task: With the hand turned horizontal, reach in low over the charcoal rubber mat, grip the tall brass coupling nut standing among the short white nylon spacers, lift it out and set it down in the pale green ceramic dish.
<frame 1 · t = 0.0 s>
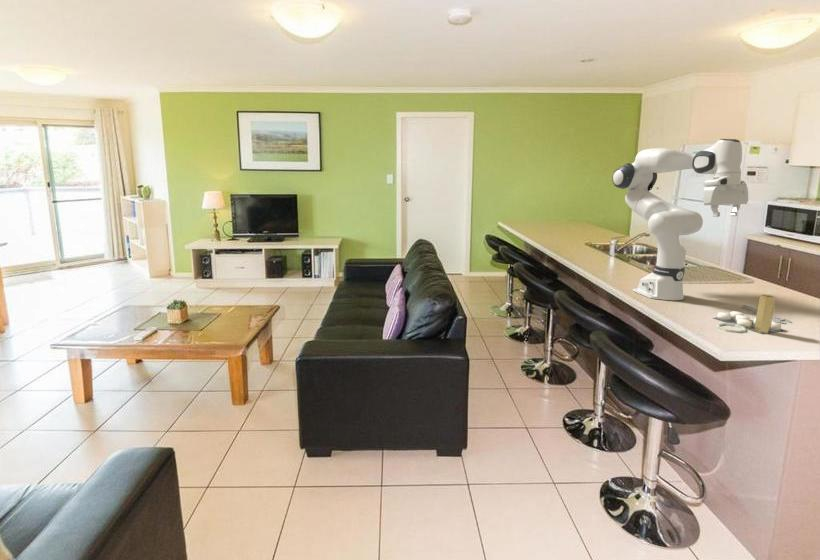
hand: (725, 216, 196), 39 cm above the table, tool pointing down, fingers open, 8 cm apart
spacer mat: (747, 326, 185), on the table
dish: (730, 330, 180), on the table
coupling nut: (761, 331, 177), point 1 cm above the table, touching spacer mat
adjustable wrench: (765, 317, 197), on the table
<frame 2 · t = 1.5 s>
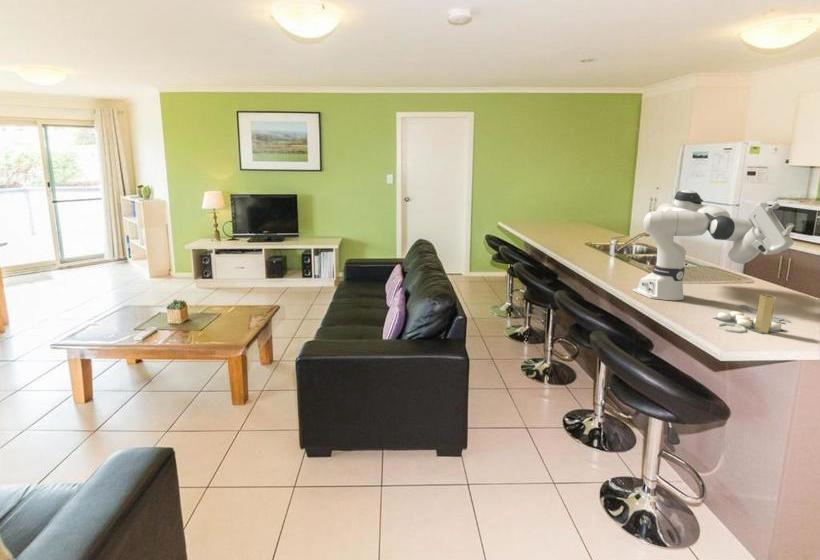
hand: (784, 214, 184), 41 cm above the table, tool pointing upward, fingers open, 8 cm apart
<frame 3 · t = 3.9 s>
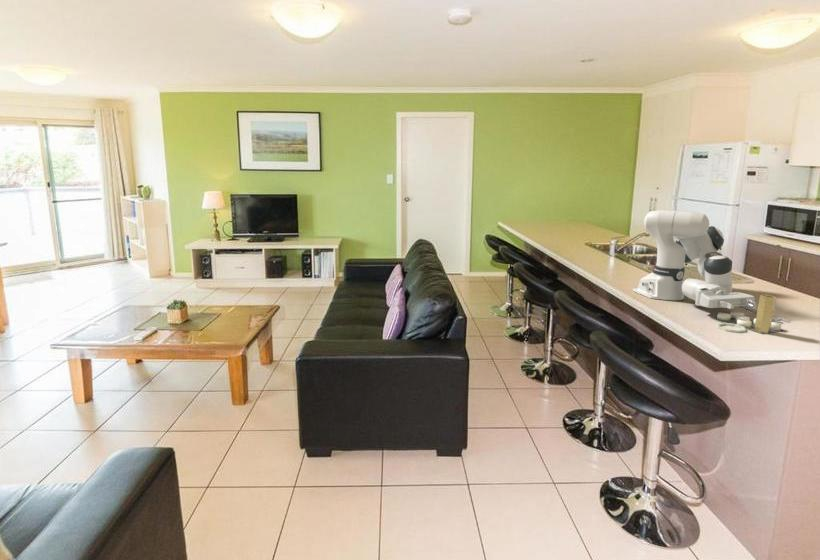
hand: (743, 306, 185), 7 cm above the table, tool horizontal, fingers open, 8 cm apart
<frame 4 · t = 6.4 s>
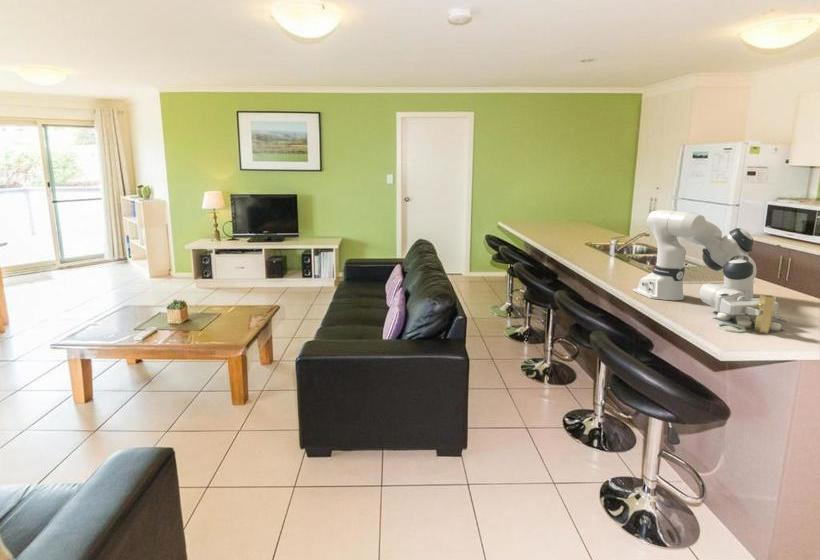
hand: (767, 312, 175), 8 cm above the table, tool horizontal, fingers closed on coupling nut, 4 cm apart
coupling nut: (761, 331, 177), point 1 cm above the table, touching gripper, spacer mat
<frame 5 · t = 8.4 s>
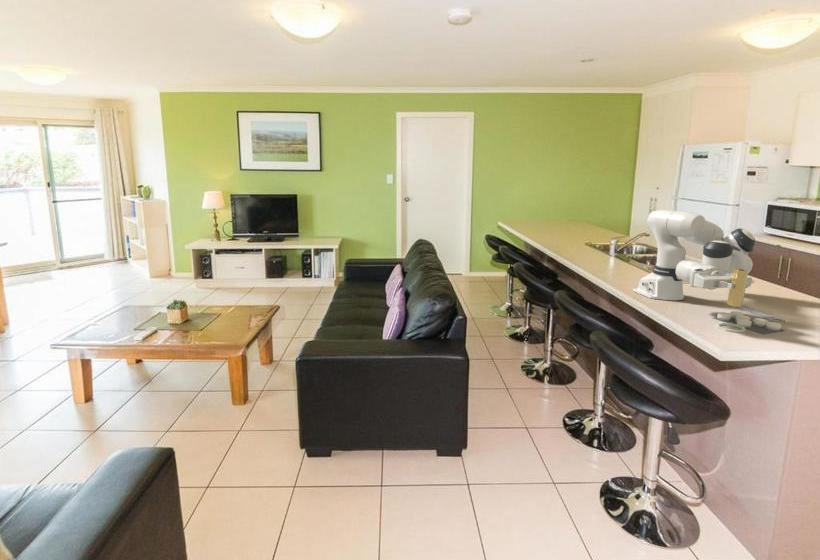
hand: (739, 286, 176), 17 cm above the table, tool horizontal, fingers closed on coupling nut, 4 cm apart
coupling nut: (734, 305, 178), point 10 cm above the table, touching gripper
when the fingers open (9 cm above the table, at t = 10.3 s): coupling nut stays where it is, resting on dish.
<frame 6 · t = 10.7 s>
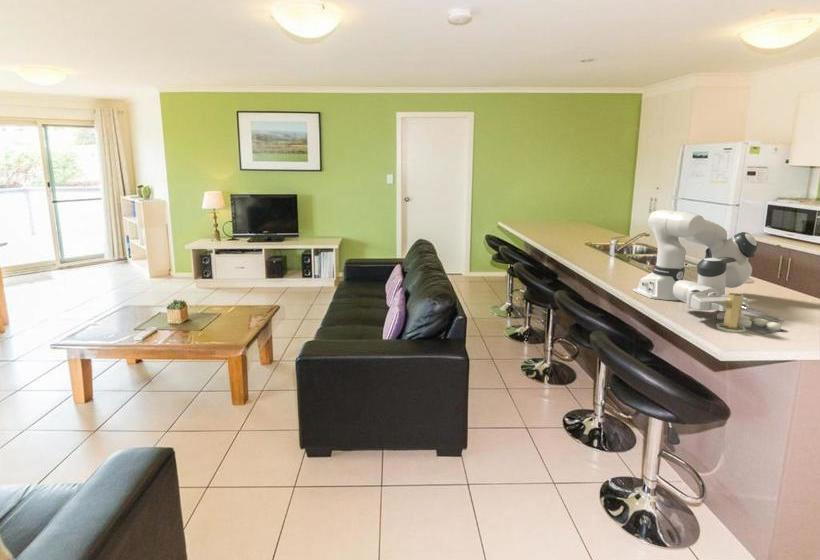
hand: (735, 308, 177), 9 cm above the table, tool horizontal, fingers open, 8 cm apart
coupling nut: (730, 329, 180), point 1 cm above the table, touching dish
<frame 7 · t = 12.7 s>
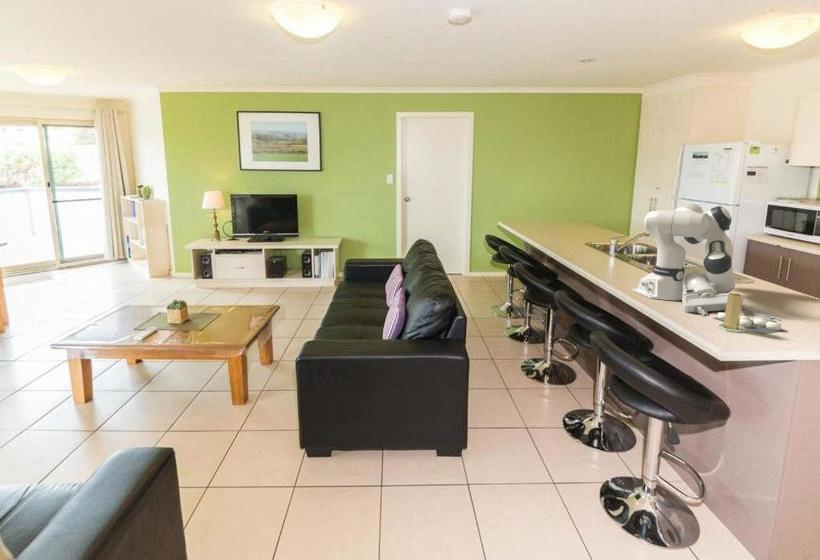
hand: (717, 313, 195), 2 cm above the table, tool tilted 75°, fingers open, 7 cm apart
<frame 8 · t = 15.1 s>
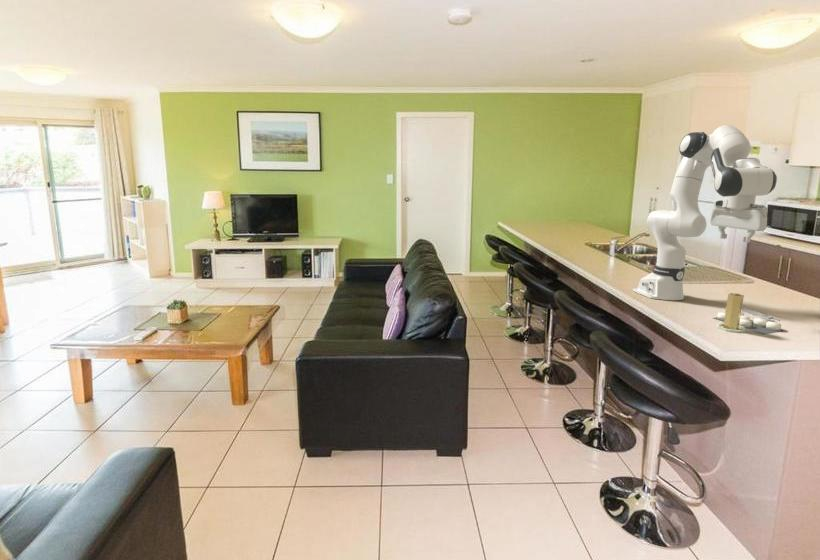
hand: (734, 240, 186), 31 cm above the table, tool pointing down, fingers open, 8 cm apart
at the end: coupling nut 0.0 cm from the dish (horizontally); coupling nut point 0.5 cm above the table; the gripper is holding nothing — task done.
